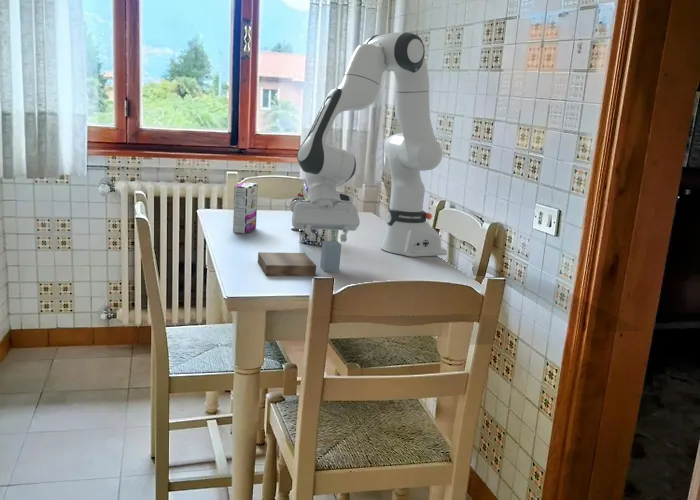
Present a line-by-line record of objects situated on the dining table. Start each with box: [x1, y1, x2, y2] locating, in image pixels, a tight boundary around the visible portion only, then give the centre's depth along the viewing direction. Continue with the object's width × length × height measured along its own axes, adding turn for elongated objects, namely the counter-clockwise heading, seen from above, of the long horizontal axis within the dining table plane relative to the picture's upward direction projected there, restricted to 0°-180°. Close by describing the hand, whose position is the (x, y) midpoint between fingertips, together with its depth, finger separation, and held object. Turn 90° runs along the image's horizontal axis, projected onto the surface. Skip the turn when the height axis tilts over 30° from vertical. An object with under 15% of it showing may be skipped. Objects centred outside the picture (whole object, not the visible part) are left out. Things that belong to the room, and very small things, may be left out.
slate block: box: [319, 240, 342, 272], centre depth 194 cm, size 4×4×8 cm
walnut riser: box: [257, 251, 317, 277], centre depth 190 cm, size 14×14×3 cm
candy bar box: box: [232, 181, 259, 235], centre depth 233 cm, size 11×5×16 cm, turn 168°
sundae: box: [290, 188, 306, 232], centre depth 242 cm, size 7×7×15 cm
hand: (328, 240), depth 195 cm, fingers open, 8 cm apart
